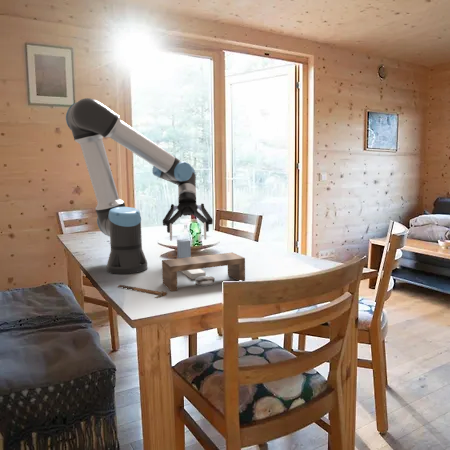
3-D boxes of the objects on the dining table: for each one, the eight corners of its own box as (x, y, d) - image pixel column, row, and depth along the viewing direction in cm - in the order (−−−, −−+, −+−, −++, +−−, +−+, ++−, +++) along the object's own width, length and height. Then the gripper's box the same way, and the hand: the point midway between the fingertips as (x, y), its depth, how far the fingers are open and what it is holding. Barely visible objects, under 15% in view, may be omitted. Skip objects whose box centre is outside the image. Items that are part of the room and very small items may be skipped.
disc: (199, 287, 137) (199, 282, 137) (193, 282, 143) (192, 277, 143) (217, 285, 140) (217, 279, 140) (210, 280, 146) (210, 275, 146)
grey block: (192, 279, 146) (191, 248, 144) (176, 268, 162) (175, 240, 161) (205, 277, 148) (205, 247, 146) (189, 266, 164) (188, 238, 163)
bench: (171, 291, 133) (170, 266, 132) (162, 283, 142) (161, 260, 141) (245, 281, 143) (244, 257, 142) (232, 274, 152) (232, 252, 151)
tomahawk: (105, 295, 134) (105, 291, 134) (122, 286, 140) (121, 283, 140) (152, 304, 124) (151, 300, 124) (167, 295, 130) (166, 291, 129)
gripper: (216, 201, 183) (219, 242, 171) (158, 202, 181) (157, 244, 169) (216, 190, 177) (219, 231, 165) (156, 191, 175) (155, 233, 163)
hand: (188, 238), depth 167 cm, fingers open, 13 cm apart
